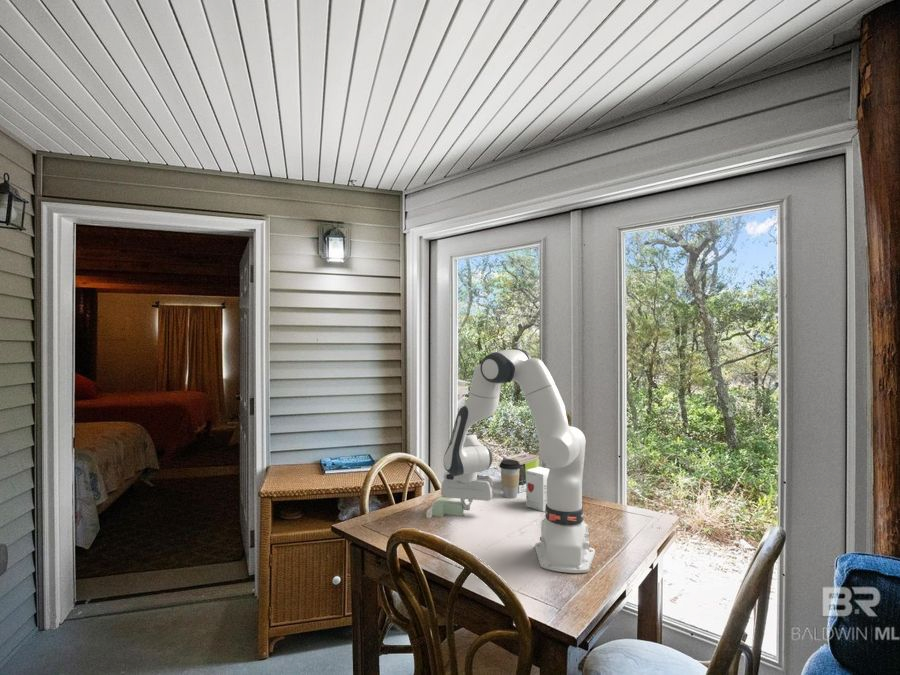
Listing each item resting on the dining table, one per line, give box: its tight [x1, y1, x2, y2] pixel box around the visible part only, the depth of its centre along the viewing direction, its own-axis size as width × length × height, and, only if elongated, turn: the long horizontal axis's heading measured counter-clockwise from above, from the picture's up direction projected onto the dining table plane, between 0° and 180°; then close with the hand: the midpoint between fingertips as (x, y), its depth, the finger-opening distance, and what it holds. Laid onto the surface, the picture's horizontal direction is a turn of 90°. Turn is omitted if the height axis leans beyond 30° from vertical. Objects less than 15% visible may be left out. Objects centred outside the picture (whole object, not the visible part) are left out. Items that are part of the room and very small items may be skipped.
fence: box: [426, 497, 461, 519], centre depth 185 cm, size 16×12×2 cm
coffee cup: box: [498, 459, 521, 499], centre depth 204 cm, size 9×9×15 cm
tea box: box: [502, 452, 540, 494], centre depth 217 cm, size 15×10×15 cm
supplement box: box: [525, 466, 550, 512], centre depth 191 cm, size 9×9×15 cm
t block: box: [431, 497, 465, 518], centre depth 184 cm, size 10×11×4 cm
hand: (466, 509), depth 183 cm, fingers closed
